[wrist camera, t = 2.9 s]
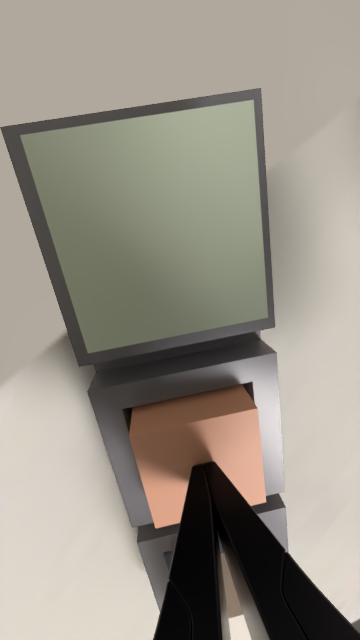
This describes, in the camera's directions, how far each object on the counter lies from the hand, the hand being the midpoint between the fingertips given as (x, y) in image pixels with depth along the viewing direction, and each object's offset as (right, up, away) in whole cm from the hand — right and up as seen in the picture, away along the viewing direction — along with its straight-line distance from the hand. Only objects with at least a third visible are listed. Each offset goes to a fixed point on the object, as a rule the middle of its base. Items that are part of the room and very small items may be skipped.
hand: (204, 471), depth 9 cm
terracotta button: (0, +1, +2) cm, 2 cm away
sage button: (-1, +8, -2) cm, 8 cm away
